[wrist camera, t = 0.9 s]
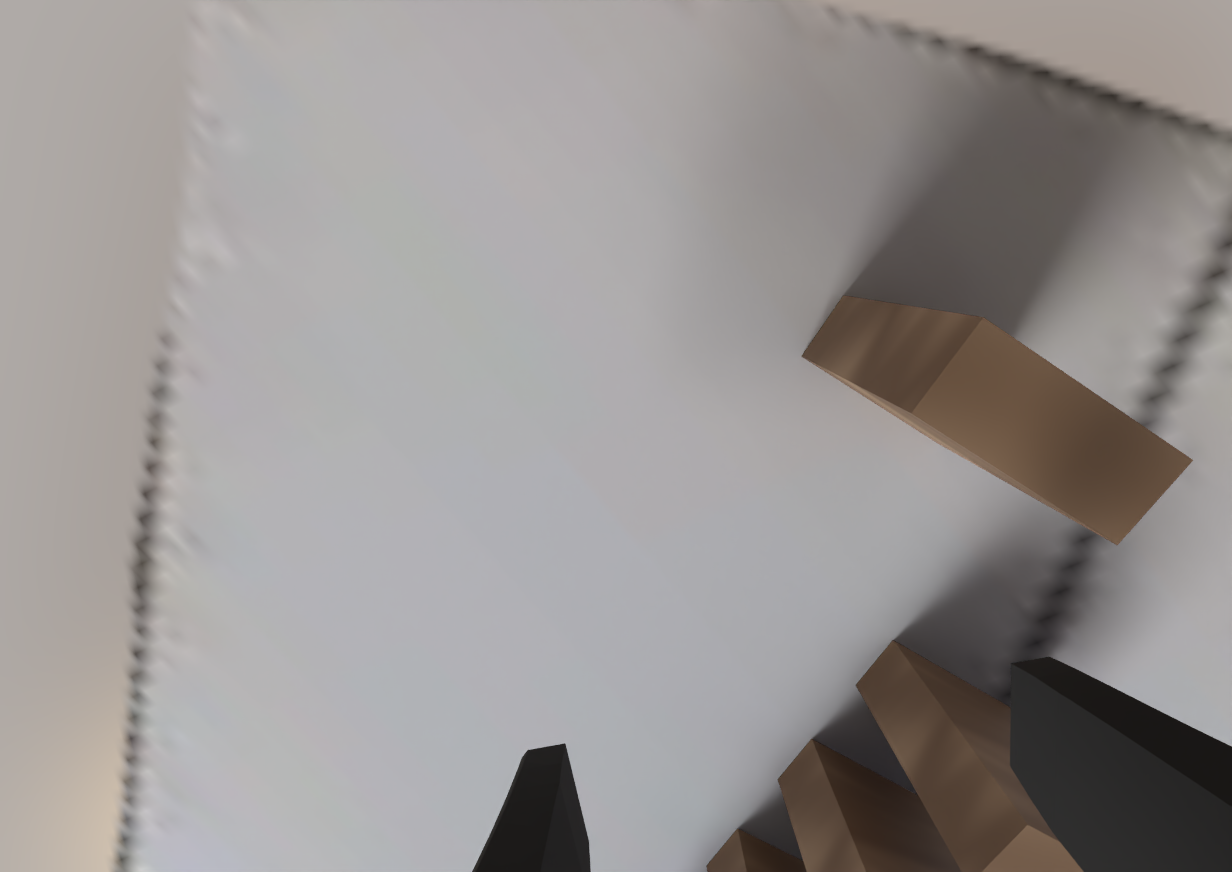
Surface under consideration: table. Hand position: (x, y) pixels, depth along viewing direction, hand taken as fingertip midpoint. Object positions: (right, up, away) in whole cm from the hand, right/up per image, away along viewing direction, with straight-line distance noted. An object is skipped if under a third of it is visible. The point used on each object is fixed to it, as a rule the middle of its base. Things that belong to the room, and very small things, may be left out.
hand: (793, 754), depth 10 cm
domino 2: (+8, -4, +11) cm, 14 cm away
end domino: (+5, +7, +8) cm, 12 cm away
